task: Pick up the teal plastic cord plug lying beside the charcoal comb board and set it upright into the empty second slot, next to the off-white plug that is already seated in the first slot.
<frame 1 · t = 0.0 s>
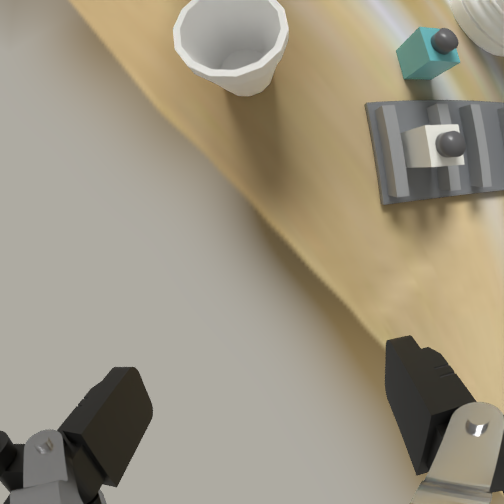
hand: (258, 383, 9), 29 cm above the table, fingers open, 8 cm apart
white plug: (414, 149, 33), point 1 cm above the table, touching comb board
comb board: (451, 147, 33), on the table
teal plug: (413, 65, 31), on the table
foam cup: (246, 72, 34), on the table
honey pot: (484, 19, 28), on the table
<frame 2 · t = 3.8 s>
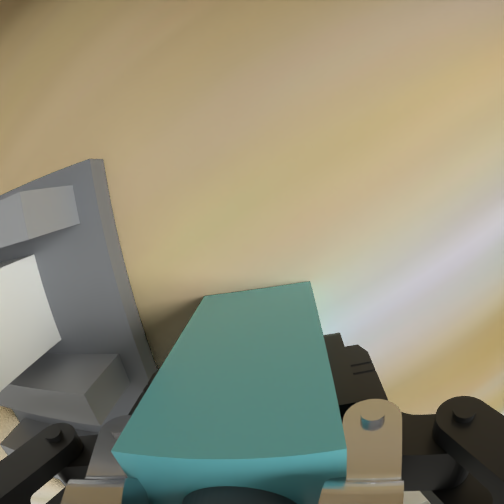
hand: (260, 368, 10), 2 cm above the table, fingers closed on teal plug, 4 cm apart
white plug: (20, 301, 12), point 1 cm above the table, touching comb board
comb board: (73, 395, 14), on the table
teal plug: (265, 336, 12), on the table, touching gripper
honey pot: (424, 497, 15), on the table
when the fingers open (4 cm above the table, at t = 9.3 s): teal plug stays where it is, resting on comb board.
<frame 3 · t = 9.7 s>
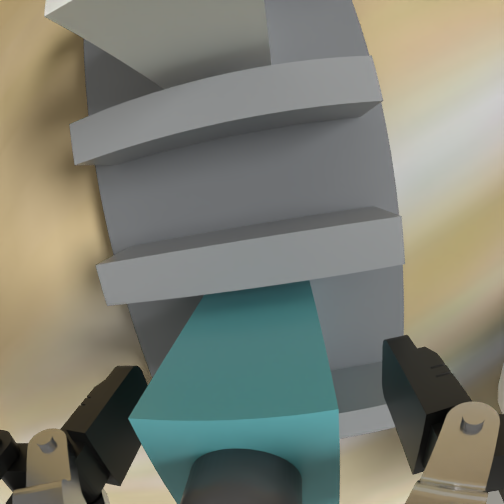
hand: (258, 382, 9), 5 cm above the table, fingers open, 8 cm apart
white plug: (213, 39, 11), point 1 cm above the table, touching comb board
comb board: (242, 180, 13), on the table
teal plug: (265, 325, 13), point 1 cm above the table, touching comb board
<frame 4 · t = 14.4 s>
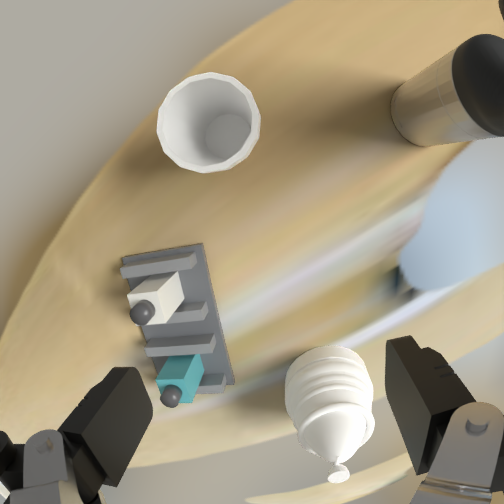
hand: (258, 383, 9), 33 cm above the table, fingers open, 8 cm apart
white plug: (167, 286, 44), point 1 cm above the table, touching comb board
comb board: (180, 322, 46), on the table
teal plug: (188, 360, 46), point 1 cm above the table, touching comb board
foam cup: (229, 137, 40), on the table
honey pot: (326, 379, 47), on the table
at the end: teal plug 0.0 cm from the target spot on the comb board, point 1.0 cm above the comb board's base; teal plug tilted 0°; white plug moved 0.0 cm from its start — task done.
